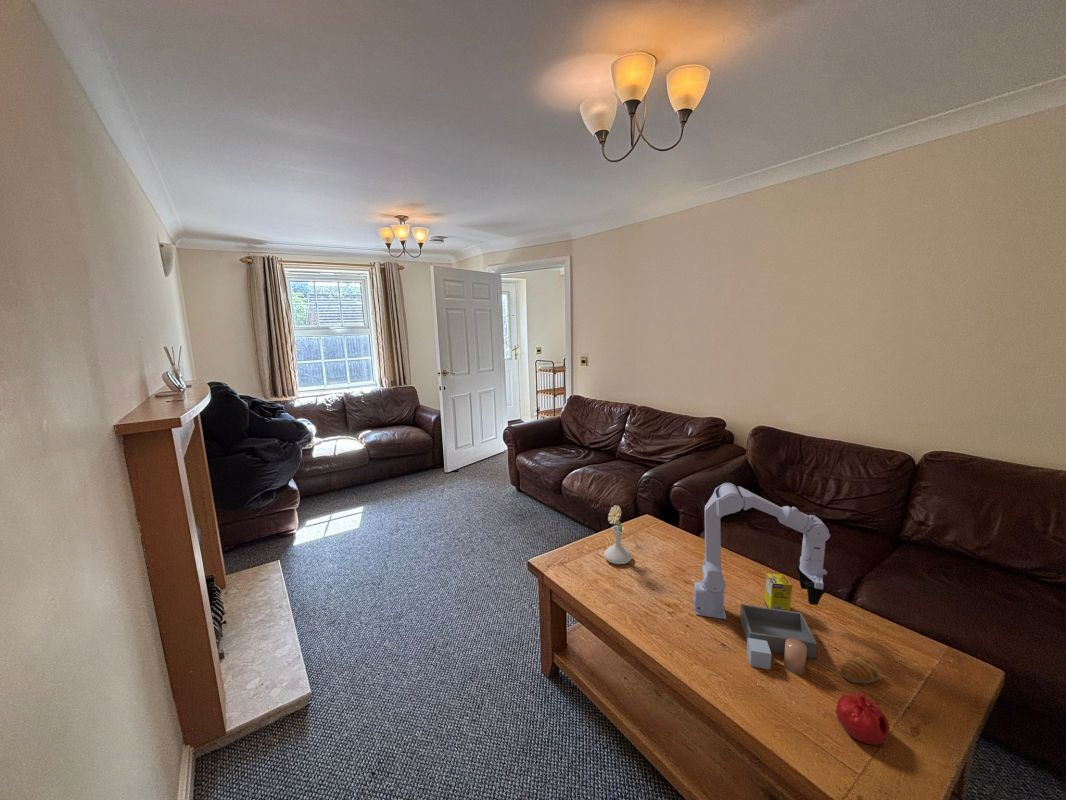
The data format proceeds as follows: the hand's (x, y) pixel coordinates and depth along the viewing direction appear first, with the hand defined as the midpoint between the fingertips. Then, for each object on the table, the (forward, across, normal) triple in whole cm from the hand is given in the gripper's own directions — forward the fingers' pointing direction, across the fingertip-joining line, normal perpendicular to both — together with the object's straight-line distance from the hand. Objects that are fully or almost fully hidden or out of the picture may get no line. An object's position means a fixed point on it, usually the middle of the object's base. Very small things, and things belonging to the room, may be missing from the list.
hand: (808, 595), depth 128 cm
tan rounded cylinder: (+10, -19, +8) cm, 23 cm away
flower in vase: (+10, +22, +61) cm, 66 cm away
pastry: (+11, -18, -8) cm, 22 cm away
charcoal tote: (+10, -8, +11) cm, 17 cm away
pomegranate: (+10, -36, -1) cm, 37 cm away
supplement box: (+10, +6, +7) cm, 14 cm away
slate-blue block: (+10, -20, +18) cm, 28 cm away
